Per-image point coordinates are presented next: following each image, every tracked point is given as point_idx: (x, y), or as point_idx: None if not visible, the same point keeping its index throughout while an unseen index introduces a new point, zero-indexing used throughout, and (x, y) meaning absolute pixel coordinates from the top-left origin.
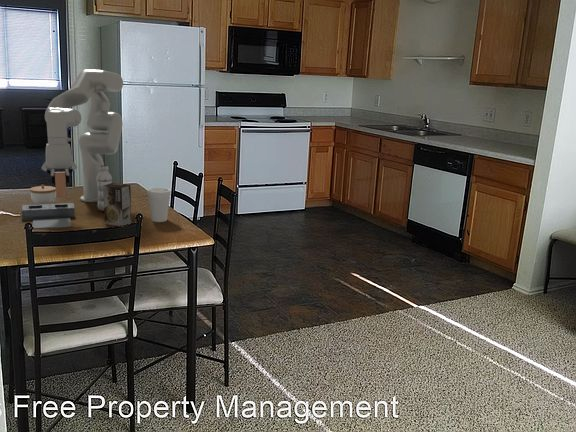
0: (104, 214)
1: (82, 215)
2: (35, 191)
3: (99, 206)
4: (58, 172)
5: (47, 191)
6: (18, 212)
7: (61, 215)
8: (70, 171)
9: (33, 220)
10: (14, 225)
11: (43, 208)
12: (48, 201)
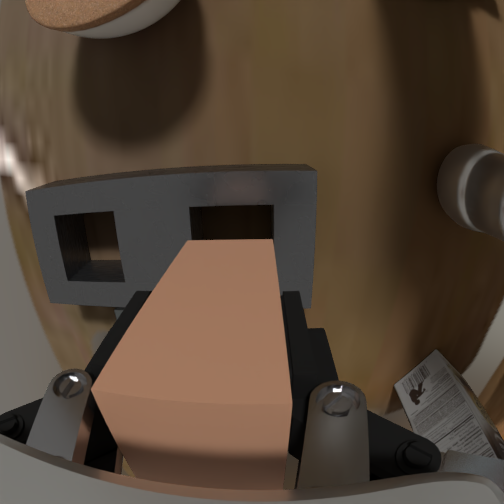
0: (405, 412)
1: (344, 251)
2: (46, 26)
3: (447, 212)
4: (169, 438)
5: (119, 11)
6: (34, 141)
7: None
8: (373, 478)
9: (117, 317)
10: (73, 346)
11: (134, 288)
12: (150, 24)
